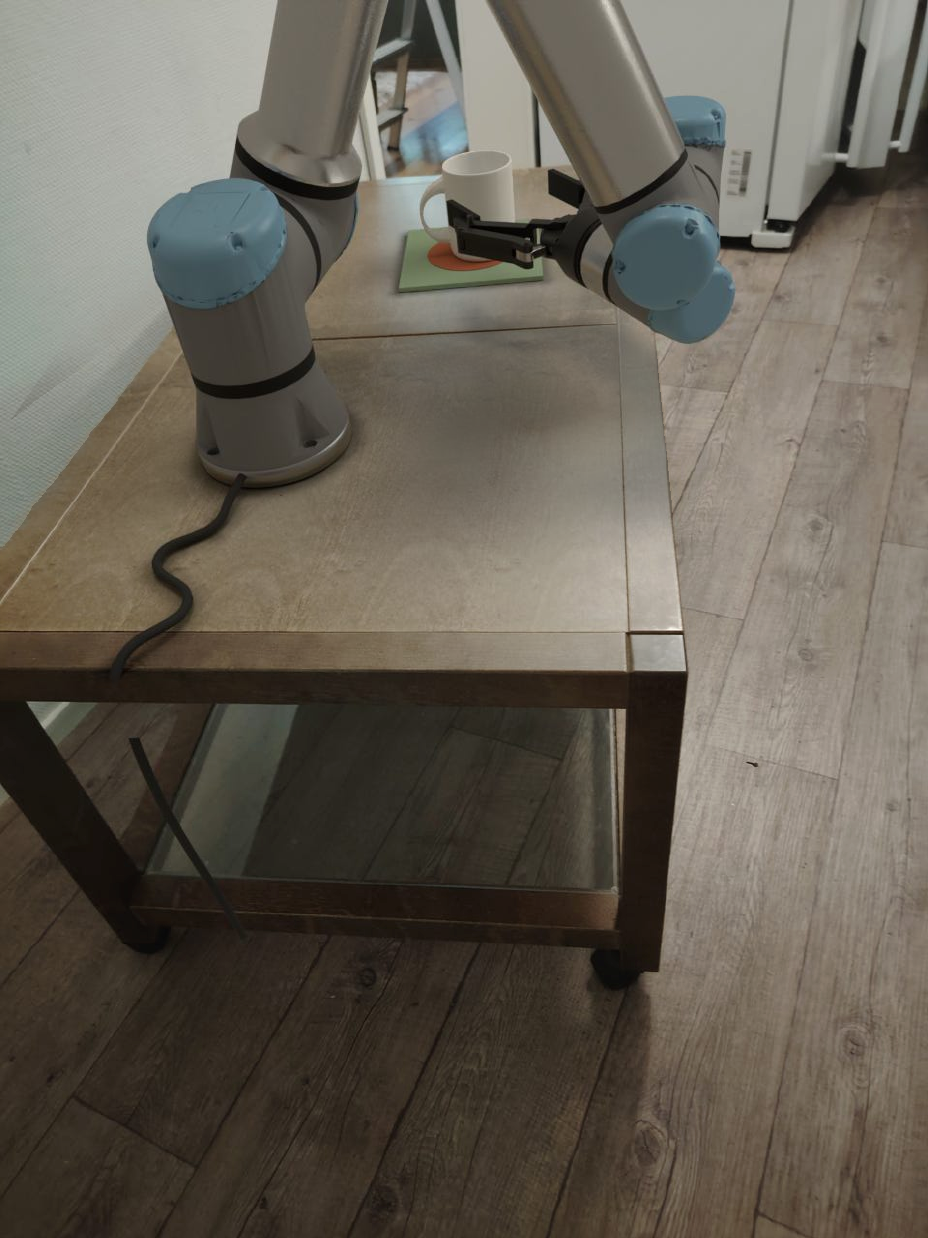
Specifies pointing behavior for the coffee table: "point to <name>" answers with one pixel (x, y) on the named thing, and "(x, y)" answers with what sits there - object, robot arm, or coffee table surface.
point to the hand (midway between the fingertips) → (501, 196)
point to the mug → (474, 191)
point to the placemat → (455, 266)
